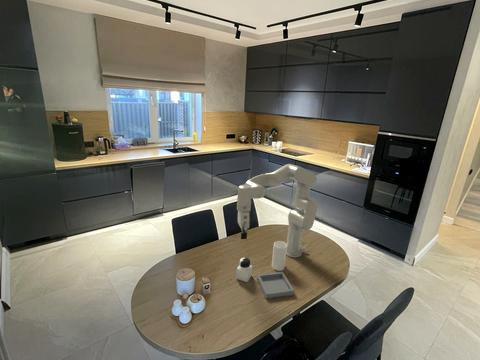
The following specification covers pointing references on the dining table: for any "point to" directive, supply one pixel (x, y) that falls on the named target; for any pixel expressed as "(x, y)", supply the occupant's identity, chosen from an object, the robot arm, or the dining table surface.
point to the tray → (275, 285)
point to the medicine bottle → (244, 270)
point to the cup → (279, 255)
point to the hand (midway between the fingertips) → (241, 234)
